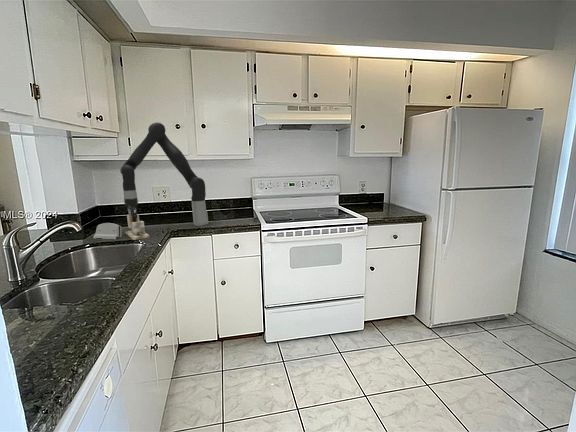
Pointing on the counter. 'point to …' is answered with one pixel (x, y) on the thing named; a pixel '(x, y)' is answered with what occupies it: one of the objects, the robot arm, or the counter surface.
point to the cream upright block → (131, 220)
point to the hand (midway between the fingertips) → (133, 224)
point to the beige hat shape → (137, 231)
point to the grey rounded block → (108, 231)
